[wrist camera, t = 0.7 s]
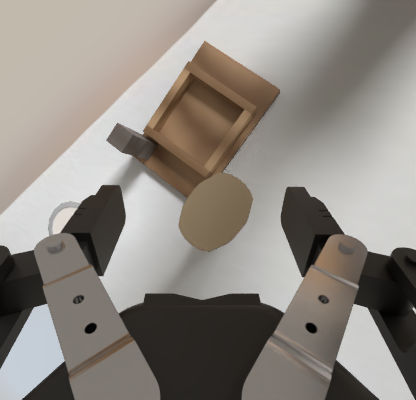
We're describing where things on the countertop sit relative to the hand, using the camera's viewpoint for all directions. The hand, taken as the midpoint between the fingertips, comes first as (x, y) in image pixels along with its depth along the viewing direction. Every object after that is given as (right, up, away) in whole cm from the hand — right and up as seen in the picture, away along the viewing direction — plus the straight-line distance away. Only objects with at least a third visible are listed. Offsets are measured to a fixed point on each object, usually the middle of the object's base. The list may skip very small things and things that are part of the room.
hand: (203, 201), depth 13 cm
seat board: (0, +10, +23) cm, 25 cm away
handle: (+4, -1, +23) cm, 23 cm away
